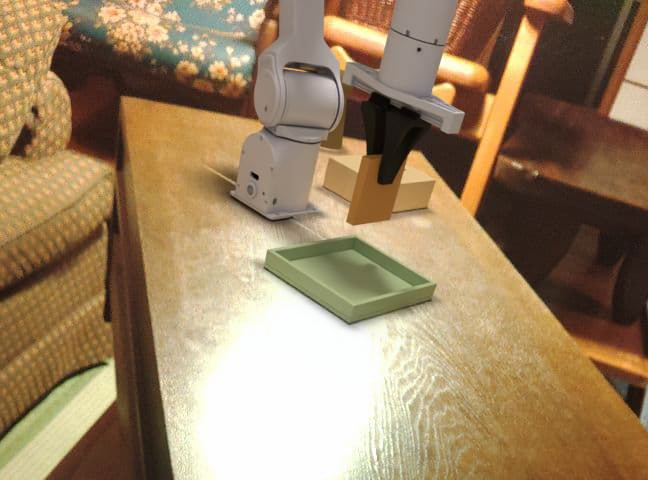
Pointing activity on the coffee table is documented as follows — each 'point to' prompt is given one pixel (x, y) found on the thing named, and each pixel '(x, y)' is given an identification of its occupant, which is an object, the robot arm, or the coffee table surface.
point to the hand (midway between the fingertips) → (379, 180)
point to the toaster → (411, 188)
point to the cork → (337, 134)
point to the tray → (350, 276)
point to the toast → (372, 193)
